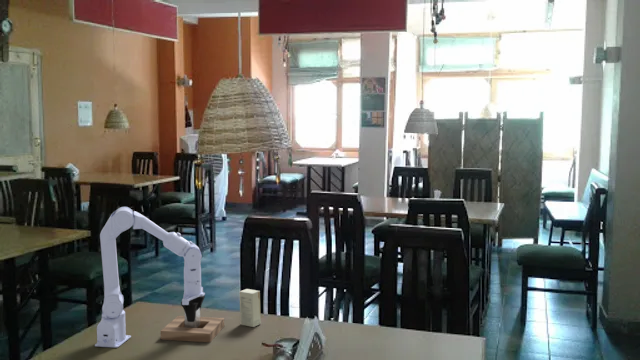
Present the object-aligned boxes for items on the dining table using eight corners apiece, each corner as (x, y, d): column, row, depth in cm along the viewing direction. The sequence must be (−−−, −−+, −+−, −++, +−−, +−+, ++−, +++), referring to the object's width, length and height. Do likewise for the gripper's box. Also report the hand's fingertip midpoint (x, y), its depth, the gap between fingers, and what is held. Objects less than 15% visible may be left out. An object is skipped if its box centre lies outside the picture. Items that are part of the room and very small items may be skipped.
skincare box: (261, 324, 202) (261, 290, 201) (253, 327, 199) (253, 293, 197) (247, 320, 206) (246, 287, 205) (239, 324, 202) (239, 290, 201)
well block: (210, 342, 185) (210, 333, 185) (160, 339, 188) (160, 330, 187) (224, 326, 200) (224, 318, 200) (178, 323, 202) (178, 315, 202)
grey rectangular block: (196, 328, 191) (195, 311, 191) (184, 328, 192) (184, 310, 191) (200, 324, 195) (199, 307, 195) (189, 323, 196) (188, 307, 195)
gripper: (196, 286, 184) (197, 327, 186) (211, 275, 198) (211, 312, 200) (175, 285, 185) (176, 326, 187) (191, 274, 199) (192, 311, 201)
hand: (193, 319), depth 193 cm, fingers closed on grey rectangular block, 4 cm apart
